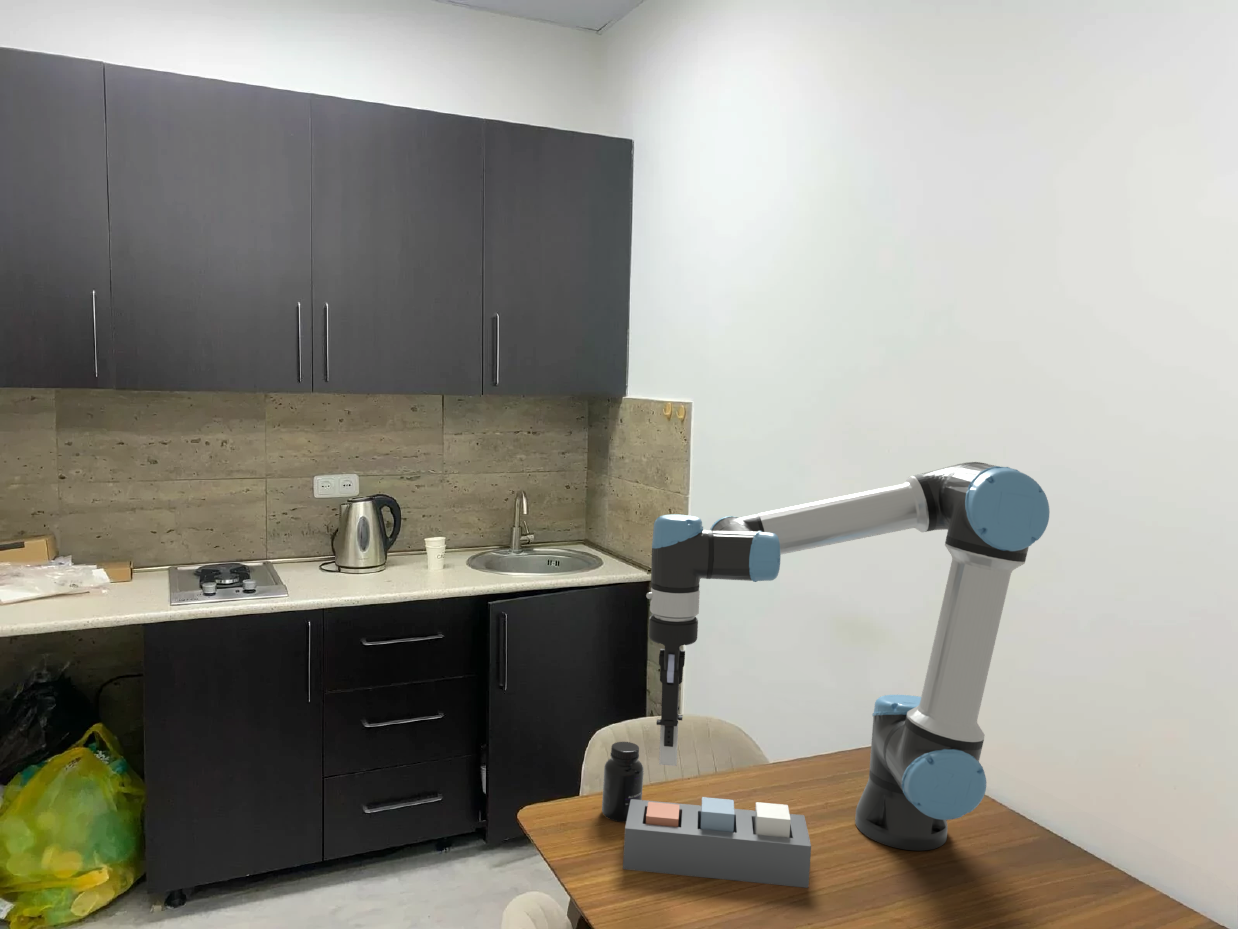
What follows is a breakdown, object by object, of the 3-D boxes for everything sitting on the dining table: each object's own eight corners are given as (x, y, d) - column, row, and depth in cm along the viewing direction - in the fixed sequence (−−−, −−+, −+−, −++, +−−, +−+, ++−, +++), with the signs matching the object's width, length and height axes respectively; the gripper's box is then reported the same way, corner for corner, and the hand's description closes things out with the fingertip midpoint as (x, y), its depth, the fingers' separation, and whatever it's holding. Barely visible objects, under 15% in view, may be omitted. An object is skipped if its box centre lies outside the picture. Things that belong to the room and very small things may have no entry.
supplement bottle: (637, 825, 152) (640, 756, 151) (597, 820, 153) (601, 751, 152) (644, 807, 158) (647, 741, 157) (606, 802, 160) (609, 736, 159)
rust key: (677, 834, 144) (679, 804, 144) (676, 850, 139) (678, 819, 139) (646, 831, 145) (648, 801, 144) (644, 847, 140) (646, 816, 139)
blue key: (731, 830, 143) (733, 800, 143) (732, 846, 138) (734, 814, 138) (700, 827, 144) (702, 797, 143) (699, 842, 139) (701, 811, 138)
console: (801, 854, 145) (804, 815, 144) (808, 888, 135) (811, 846, 135) (628, 837, 148) (630, 799, 147) (622, 869, 138) (625, 828, 137)
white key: (785, 835, 142) (787, 805, 142) (788, 851, 137) (790, 819, 137) (753, 832, 143) (755, 802, 142) (755, 848, 138) (757, 816, 138)
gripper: (652, 604, 146) (646, 745, 148) (646, 624, 133) (640, 779, 135) (698, 606, 145) (692, 748, 147) (697, 627, 132) (691, 783, 134)
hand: (667, 763), depth 141 cm, fingers closed
